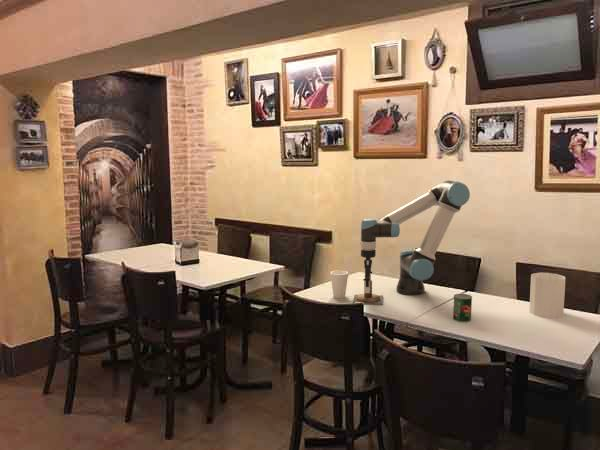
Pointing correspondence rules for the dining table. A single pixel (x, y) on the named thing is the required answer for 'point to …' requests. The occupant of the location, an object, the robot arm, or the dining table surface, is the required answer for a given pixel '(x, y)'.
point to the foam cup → (339, 283)
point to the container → (547, 295)
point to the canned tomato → (462, 307)
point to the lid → (368, 295)
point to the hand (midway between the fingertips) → (367, 289)
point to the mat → (370, 302)
